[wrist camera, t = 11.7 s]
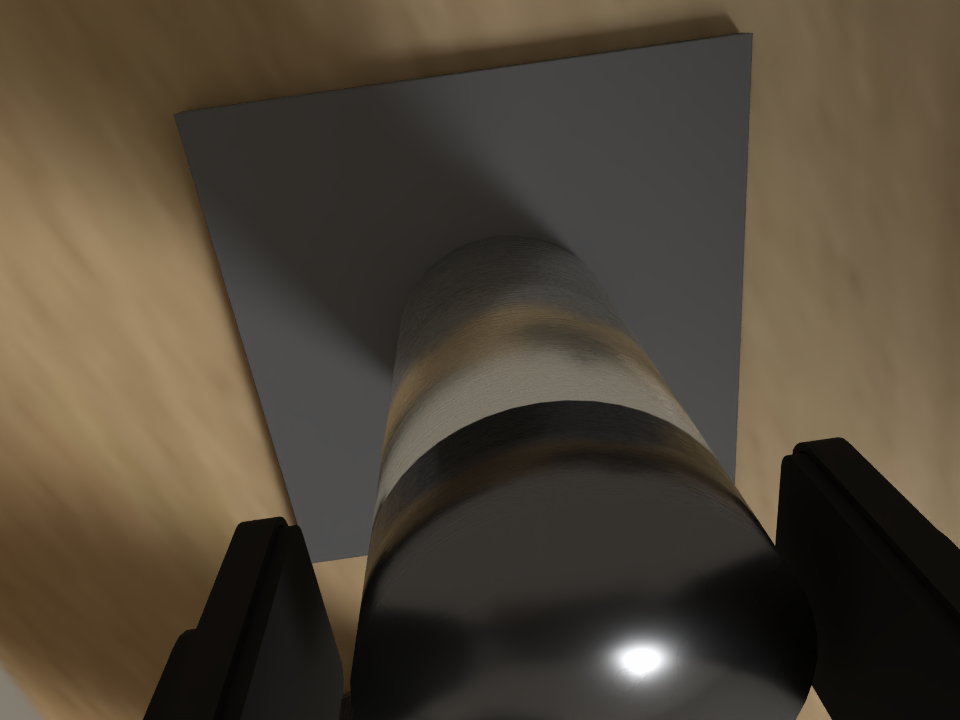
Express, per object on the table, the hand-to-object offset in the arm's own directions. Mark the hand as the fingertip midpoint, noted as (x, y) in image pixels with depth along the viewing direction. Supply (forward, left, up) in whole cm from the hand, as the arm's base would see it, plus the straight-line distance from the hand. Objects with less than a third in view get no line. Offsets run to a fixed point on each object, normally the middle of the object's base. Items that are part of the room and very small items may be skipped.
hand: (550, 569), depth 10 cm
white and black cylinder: (0, 0, -8) cm, 8 cm away
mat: (0, 0, -9) cm, 9 cm away
